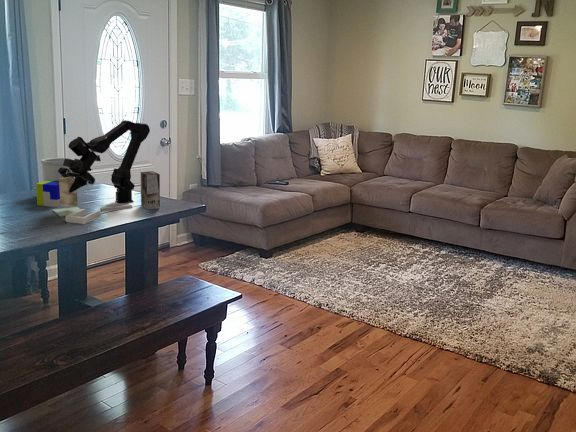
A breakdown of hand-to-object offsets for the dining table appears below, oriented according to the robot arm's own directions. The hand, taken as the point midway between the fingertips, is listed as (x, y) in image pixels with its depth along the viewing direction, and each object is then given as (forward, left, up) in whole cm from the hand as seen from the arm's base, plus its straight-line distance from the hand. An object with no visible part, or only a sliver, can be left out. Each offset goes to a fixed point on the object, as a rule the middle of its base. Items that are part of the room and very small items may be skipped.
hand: (65, 191), depth 256 cm
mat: (-1, 0, -10) cm, 10 cm away
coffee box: (-36, +7, -10) cm, 38 cm away
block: (-1, 0, -7) cm, 7 cm away
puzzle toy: (0, -19, -10) cm, 22 cm away
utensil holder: (-8, -36, -10) cm, 39 cm away
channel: (-3, +14, -10) cm, 17 cm away
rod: (-21, +4, -10) cm, 24 cm away
